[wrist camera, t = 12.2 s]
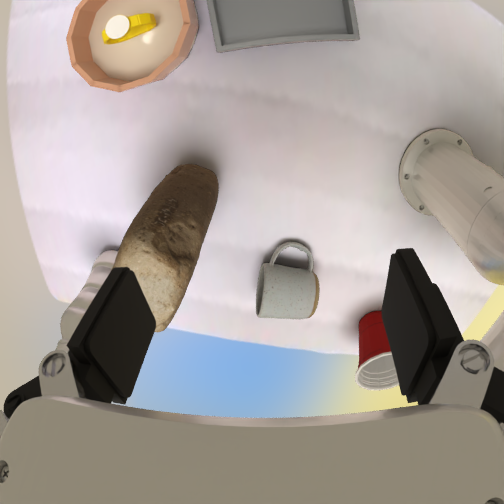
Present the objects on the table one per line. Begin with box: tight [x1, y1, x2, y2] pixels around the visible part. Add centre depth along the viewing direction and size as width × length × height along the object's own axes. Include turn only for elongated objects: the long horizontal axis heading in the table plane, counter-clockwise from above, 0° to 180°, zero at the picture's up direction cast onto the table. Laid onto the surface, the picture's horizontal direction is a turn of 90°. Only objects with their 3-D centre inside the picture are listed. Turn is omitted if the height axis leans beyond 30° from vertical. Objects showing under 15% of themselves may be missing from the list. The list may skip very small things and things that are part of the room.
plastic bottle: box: [56, 250, 118, 353], centre depth 39 cm, size 6×7×20 cm
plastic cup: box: [355, 311, 399, 390], centre depth 47 cm, size 11×11×12 cm
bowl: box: [66, 0, 199, 92], centre depth 25 cm, size 14×14×5 cm
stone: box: [111, 164, 218, 332], centre depth 32 cm, size 12×7×20 cm, turn 156°
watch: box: [102, 13, 156, 45], centre depth 24 cm, size 6×3×6 cm, turn 103°
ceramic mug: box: [256, 242, 319, 319], centre depth 43 cm, size 11×8×8 cm
